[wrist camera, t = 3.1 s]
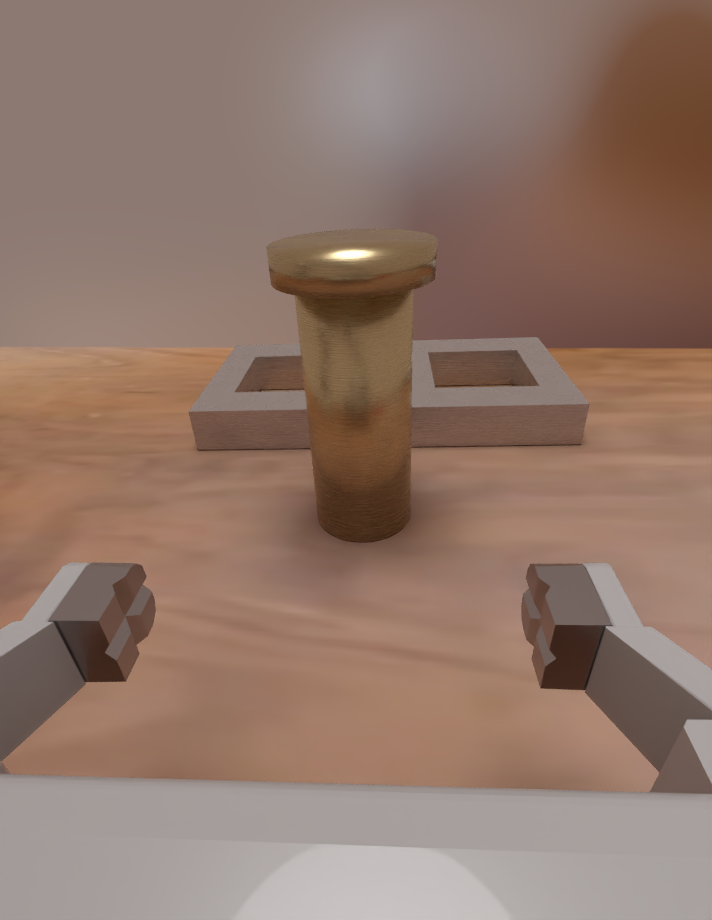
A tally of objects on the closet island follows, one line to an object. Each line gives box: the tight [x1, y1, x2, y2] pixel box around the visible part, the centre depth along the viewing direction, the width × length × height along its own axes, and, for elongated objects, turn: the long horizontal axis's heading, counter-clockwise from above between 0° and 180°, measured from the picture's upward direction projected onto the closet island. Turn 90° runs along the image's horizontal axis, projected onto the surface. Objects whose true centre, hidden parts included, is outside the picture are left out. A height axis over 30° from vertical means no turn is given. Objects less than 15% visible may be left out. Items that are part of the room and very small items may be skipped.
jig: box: [189, 337, 589, 450], centre depth 33 cm, size 22×11×2 cm, turn 87°
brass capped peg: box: [267, 229, 437, 542], centre depth 21 cm, size 6×6×12 cm
